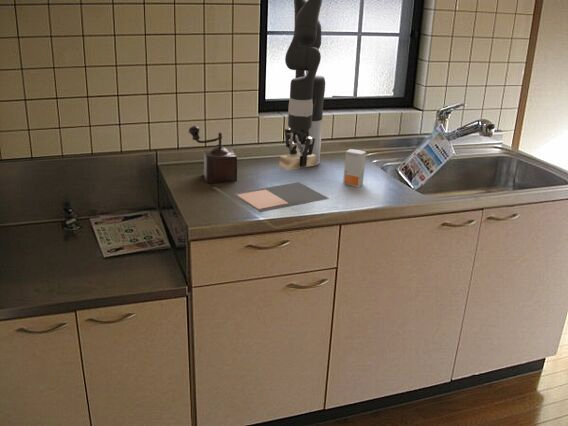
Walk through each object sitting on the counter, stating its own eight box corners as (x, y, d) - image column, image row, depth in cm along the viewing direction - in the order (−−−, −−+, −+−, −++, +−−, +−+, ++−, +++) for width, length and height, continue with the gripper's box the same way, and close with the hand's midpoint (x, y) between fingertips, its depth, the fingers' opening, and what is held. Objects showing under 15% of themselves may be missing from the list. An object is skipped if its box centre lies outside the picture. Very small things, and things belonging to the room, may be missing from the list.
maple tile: (287, 169, 191) (288, 160, 189) (279, 165, 194) (279, 155, 193) (316, 165, 196) (316, 155, 195) (307, 160, 200) (307, 151, 199)
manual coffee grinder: (231, 172, 218) (232, 123, 211) (237, 182, 208) (238, 131, 201) (188, 174, 214) (187, 124, 207) (192, 184, 204) (191, 132, 197)
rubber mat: (232, 195, 196) (232, 193, 196) (298, 183, 209) (298, 181, 209) (260, 213, 182) (260, 211, 182) (329, 200, 196) (329, 197, 195)
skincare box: (342, 184, 211) (345, 151, 206) (347, 181, 214) (350, 148, 210) (358, 187, 208) (361, 154, 204) (363, 184, 212) (366, 151, 207)
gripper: (278, 108, 192) (276, 159, 199) (303, 118, 181) (300, 172, 188) (297, 106, 196) (295, 156, 203) (323, 116, 185) (320, 168, 192)
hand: (297, 163), depth 195 cm, fingers closed on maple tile, 5 cm apart
